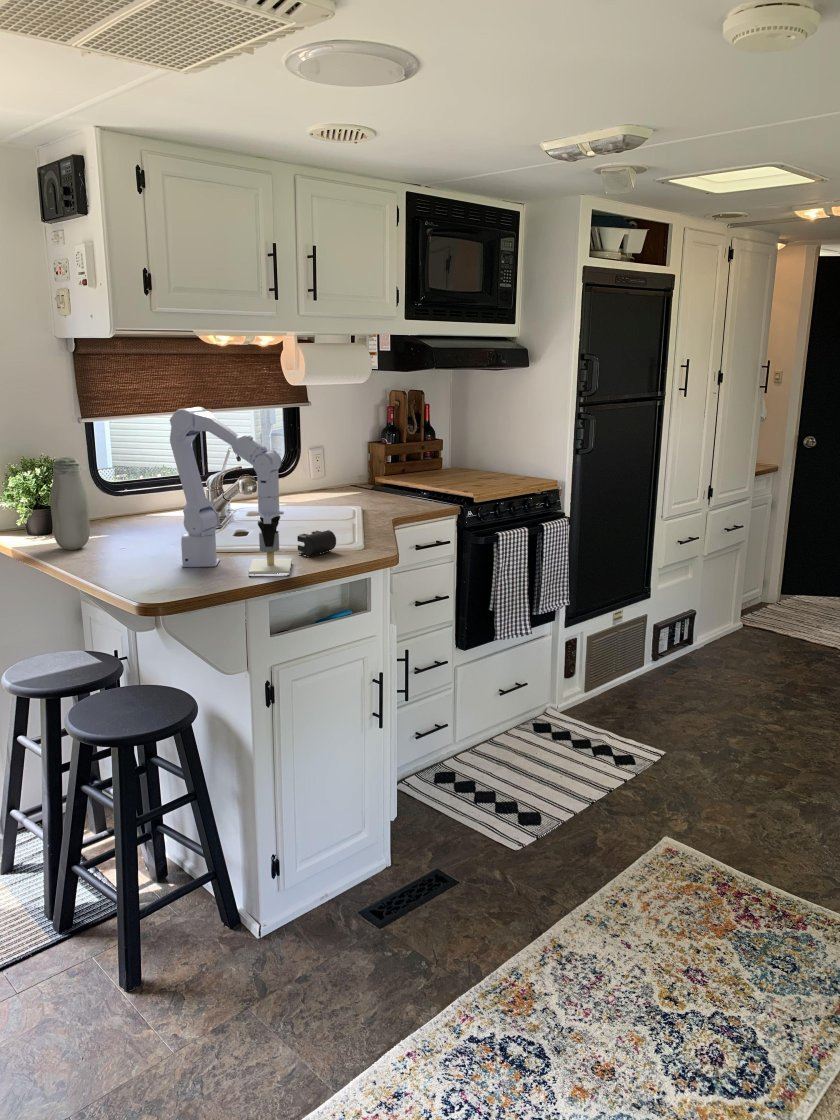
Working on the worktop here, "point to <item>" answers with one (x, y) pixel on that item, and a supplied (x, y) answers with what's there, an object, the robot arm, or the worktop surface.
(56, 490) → the grey bottle
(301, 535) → the black cylinder
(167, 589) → the worktop surface
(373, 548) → the worktop surface
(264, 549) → the sleeve
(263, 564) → the board
